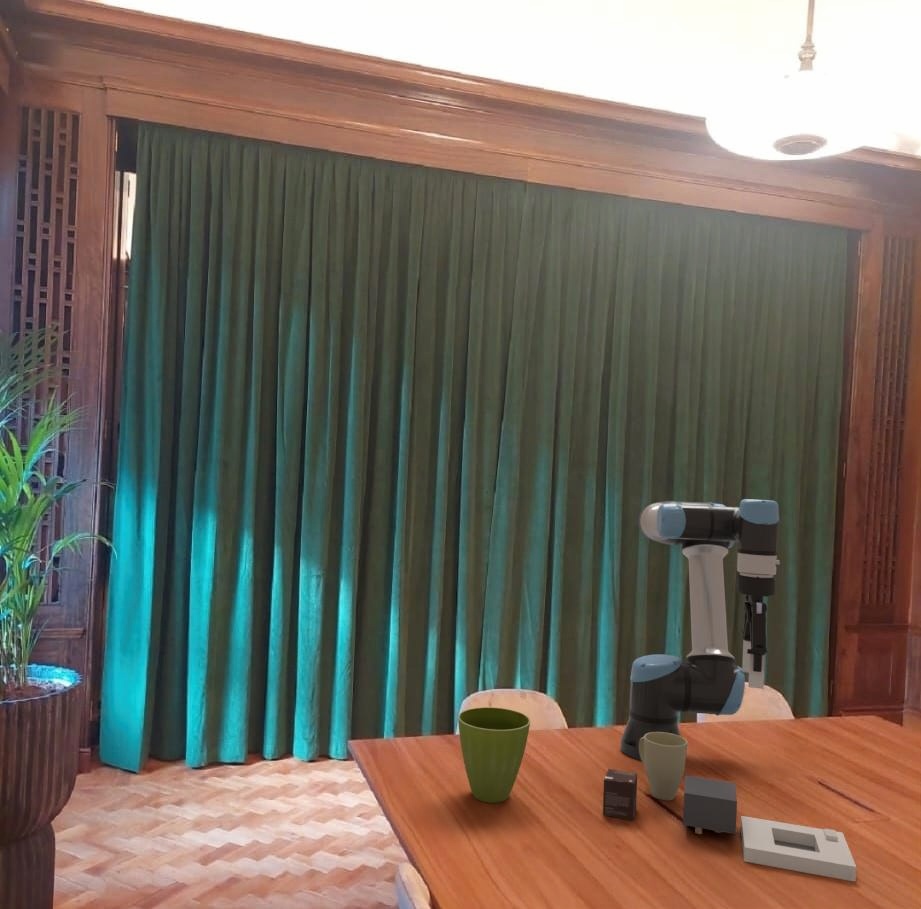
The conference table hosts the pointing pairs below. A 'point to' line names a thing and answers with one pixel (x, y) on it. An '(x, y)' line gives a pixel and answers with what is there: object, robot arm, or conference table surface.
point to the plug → (710, 805)
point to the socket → (797, 848)
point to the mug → (663, 762)
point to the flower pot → (492, 750)
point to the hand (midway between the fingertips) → (752, 679)
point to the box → (620, 794)
